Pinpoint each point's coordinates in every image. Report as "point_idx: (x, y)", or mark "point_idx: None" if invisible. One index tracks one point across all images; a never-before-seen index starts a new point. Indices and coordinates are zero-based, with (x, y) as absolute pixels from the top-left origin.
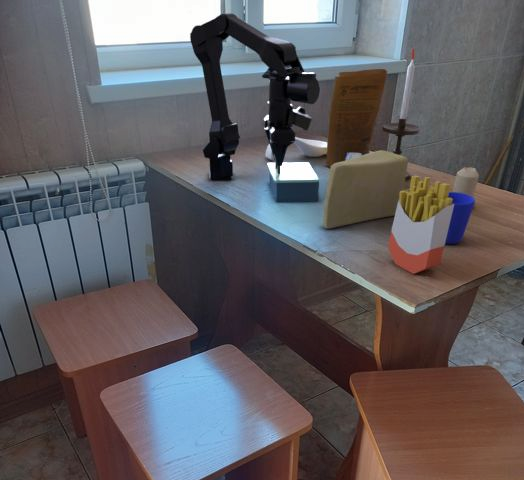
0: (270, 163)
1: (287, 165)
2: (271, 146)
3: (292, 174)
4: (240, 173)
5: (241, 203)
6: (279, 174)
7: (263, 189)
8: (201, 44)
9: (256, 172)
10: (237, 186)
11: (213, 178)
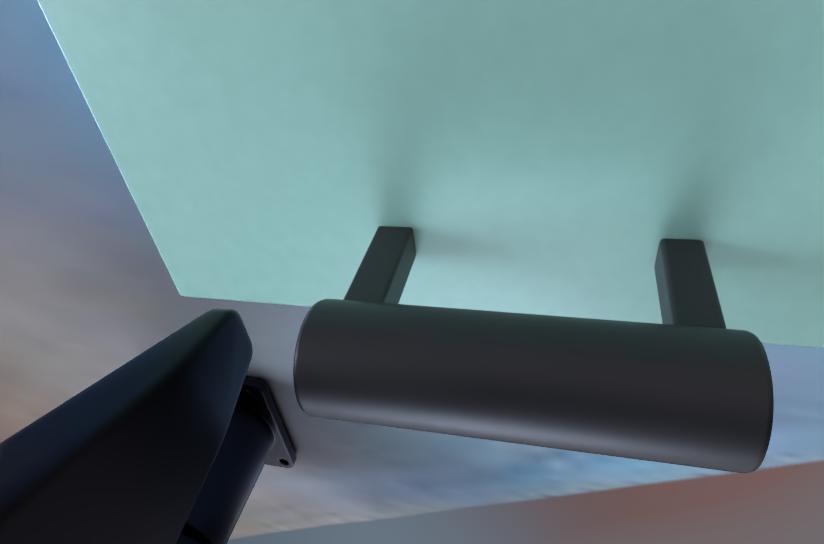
0: (195, 270)
1: (217, 60)
2: (176, 523)
3: (807, 26)
4: (109, 311)
5: (789, 406)
6: (727, 250)
7: None
8: None
9: (34, 214)
10: None
11: (289, 456)
